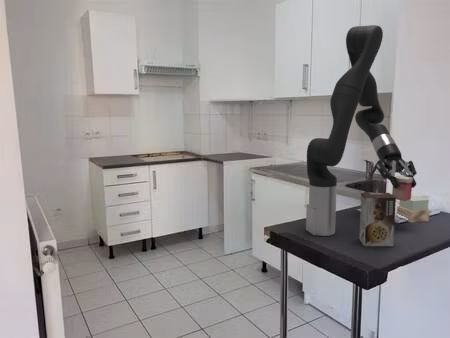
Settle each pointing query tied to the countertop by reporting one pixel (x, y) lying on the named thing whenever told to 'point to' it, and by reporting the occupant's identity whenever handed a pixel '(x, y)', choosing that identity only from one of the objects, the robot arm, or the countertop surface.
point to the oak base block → (414, 214)
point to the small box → (403, 188)
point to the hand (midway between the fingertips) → (405, 186)
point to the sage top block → (415, 204)
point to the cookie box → (377, 219)
